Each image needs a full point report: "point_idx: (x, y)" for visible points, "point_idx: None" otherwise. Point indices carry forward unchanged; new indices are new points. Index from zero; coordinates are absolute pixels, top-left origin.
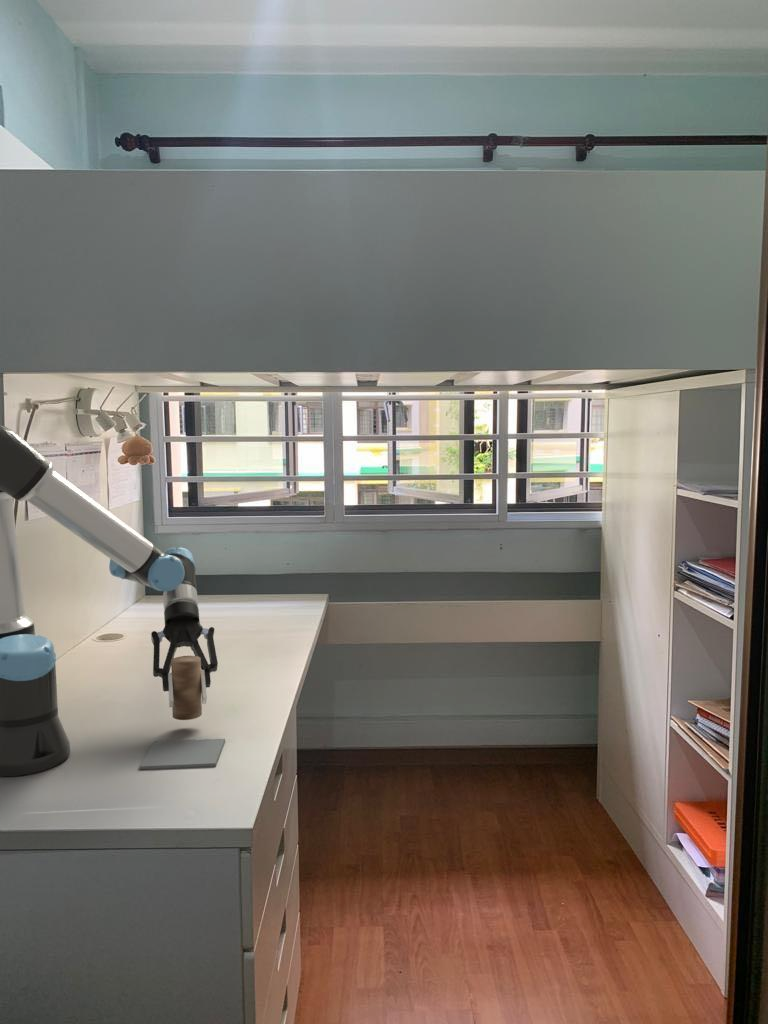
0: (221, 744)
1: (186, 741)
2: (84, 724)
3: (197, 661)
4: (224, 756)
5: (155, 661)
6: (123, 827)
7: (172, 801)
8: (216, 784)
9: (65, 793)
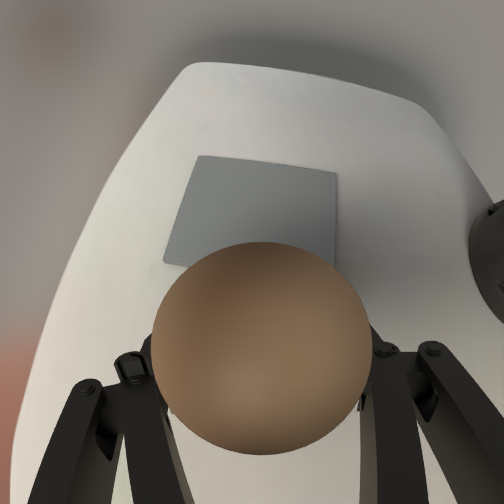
0: (175, 229)
1: None
2: None
3: (178, 280)
4: (177, 197)
5: (460, 375)
6: (310, 75)
7: (264, 97)
8: (205, 119)
9: (412, 147)
